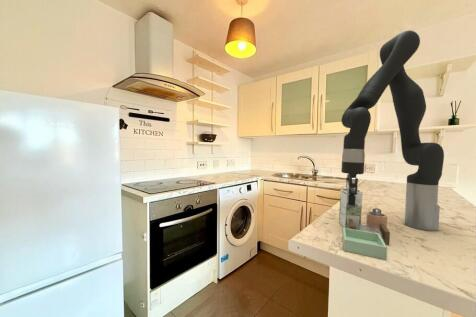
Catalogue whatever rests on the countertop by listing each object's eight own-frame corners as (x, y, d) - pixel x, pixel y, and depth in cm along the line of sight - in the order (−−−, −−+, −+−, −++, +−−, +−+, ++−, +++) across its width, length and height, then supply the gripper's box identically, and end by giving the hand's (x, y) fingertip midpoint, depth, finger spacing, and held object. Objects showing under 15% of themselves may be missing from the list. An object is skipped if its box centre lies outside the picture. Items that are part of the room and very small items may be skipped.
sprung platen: (377, 229, 70) (377, 226, 70) (381, 237, 63) (382, 234, 63) (354, 225, 73) (354, 223, 73) (356, 232, 66) (356, 229, 66)
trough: (378, 244, 63) (379, 233, 63) (386, 259, 54) (387, 247, 54) (342, 237, 67) (342, 227, 67) (343, 250, 58) (344, 239, 58)
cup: (383, 228, 76) (384, 213, 76) (387, 234, 70) (388, 217, 70) (365, 225, 78) (366, 210, 78) (367, 231, 73) (368, 215, 73)
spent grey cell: (379, 227, 75) (380, 207, 75) (381, 229, 73) (382, 209, 72) (371, 225, 76) (371, 206, 76) (372, 228, 74) (373, 208, 73)
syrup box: (353, 224, 80) (355, 188, 79) (361, 230, 74) (362, 191, 74) (338, 223, 81) (340, 188, 80) (345, 229, 75) (346, 191, 74)
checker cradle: (383, 235, 69) (384, 223, 69) (389, 245, 62) (389, 232, 62) (348, 229, 74) (348, 218, 74) (349, 238, 67) (350, 226, 67)
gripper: (367, 162, 68) (364, 208, 69) (361, 161, 81) (359, 200, 82) (342, 161, 71) (340, 205, 72) (341, 160, 84) (339, 197, 85)
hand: (350, 202), depth 77 cm, fingers open, 8 cm apart
